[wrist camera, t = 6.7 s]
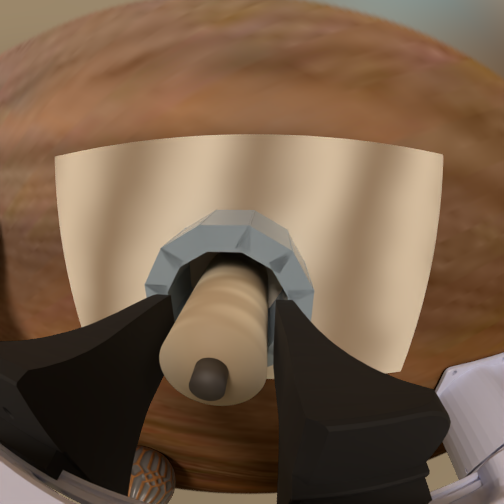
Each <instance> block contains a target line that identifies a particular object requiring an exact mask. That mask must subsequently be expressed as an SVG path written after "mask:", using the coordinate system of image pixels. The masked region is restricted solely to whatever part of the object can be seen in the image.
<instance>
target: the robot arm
mask: <svg viewBox="0 0 504 504" xmlns="http://www.w3.org/2000/svg"><path fill="white" fill-rule="evenodd" d="M174 323H175V322H174V314H173V307H172V299H171V295H162V294H155V295H152V296H150V297H147V298H145V299H143V300H141V301H139V302H137V303H135V304H133V305H131V306H129V307H127V308H125V309H123V310H121V311H119V312H117V313H115V314H112V315H110V316H108V317H106V318H104V319H101V320H99V321H97V322H95V323H92V324H89V325H87V326H84V327H81V328H78V329H75V330H72V331H69V332H65V333H61V334H57V335H53V336H48V337H43V338H37V339H30V340H22V341H0V504H76V503H74V502H72V501H70V500H68V499H67V498H65V497H63V496H61V495H59V494H58V493H57V492H56V491H58V492H60V493H62V494H63V495H65V496H67V497H69V498H71V499H73V500H75V501H77V502H79V503H81V504H151V503H147V502H143V501H140V500H137V499H133V498H130V497H128V491H129V484H130V477H131V471H132V466H133V461H134V457H135V452H136V448H137V444H138V440H139V437H140V433H141V429H142V426H143V423H144V420H145V417H146V413H147V411H148V408H149V406H150V403H151V401H152V399H153V397H154V395H155V393H156V391H157V388H158V386H159V384H160V382H161V380H162V378H163V376H164V374H163V372H162V369H161V366H160V361H159V354H160V350H161V347H162V345H163V343H164V341H165V339H166V337H167V336H168V334H169V332H170V330H171V328H172V327H173V325H174ZM273 370H274V380H275V389H276V397H277V406H278V416H279V460H278V490H277V504H504V353H501V354H498V355H494V356H491V357H487V358H484V359H480V360H477V361H473V362H469V363H465V364H461V365H457V366H452V367H449V368H447V369H446V370H445V371H444V373H443V375H442V377H441V379H440V382H439V384H438V386H437V388H436V390H435V391H434V389H430V388H427V387H423V386H419V385H416V384H412V383H409V382H406V381H403V380H400V379H397V378H395V377H392V376H390V375H387V374H385V373H383V372H380V371H378V370H376V369H374V368H372V367H370V366H368V365H366V364H365V363H363V362H361V361H359V360H357V359H356V358H354V357H353V356H351V355H349V354H348V353H347V352H345V351H344V350H342V349H341V348H340V347H338V346H337V345H335V344H334V343H333V342H332V341H330V340H329V339H328V338H327V337H326V336H325V335H324V334H323V333H322V332H320V331H319V330H318V329H317V328H316V326H315V325H314V324H313V323H312V322H311V321H310V320H309V319H308V318H307V317H306V315H305V314H304V313H303V312H302V311H301V309H300V308H299V307H298V306H297V304H296V303H295V302H294V301H293V300H276V305H275V326H274V344H273ZM442 442H443V444H444V446H445V449H446V451H447V453H448V455H449V458H450V460H451V462H452V465H453V467H454V469H455V472H456V474H457V476H458V479H459V480H458V481H456V482H453V483H451V484H449V485H446V486H444V487H441V488H439V489H437V490H434V491H431V492H430V491H429V488H428V485H427V482H426V479H425V477H427V476H428V475H429V468H428V466H427V463H426V461H427V460H428V459H429V458H430V457H431V455H432V454H433V453H434V452H435V450H436V449H437V448H438V447H439V445H440V444H441V443H442ZM48 486H49V487H48ZM50 487H51V488H52V489H51V488H50ZM53 489H54V490H56V491H54V490H53Z"/></svg>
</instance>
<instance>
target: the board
mask: <svg viewBox="0 0 504 504" xmlns="http://www.w3.org/2000/svg"><path fill="white" fill-rule="evenodd" d="M442 174H443V155H442V154H438V153H433V152H428V151H423V150H418V149H413V148H407V147H402V146H395V145H389V144H382V143H375V142H368V141H359V140H351V139H341V138H329V137H316V136H299V135H267V134H241V135H209V136H191V137H178V138H167V139H157V140H148V141H140V142H132V143H125V144H118V145H112V146H106V147H100V148H94V149H89V150H84V151H79V152H74V153H69V154H65V155H61V156H56V157H55V177H56V194H57V206H58V215H59V224H60V231H61V238H62V245H63V251H64V256H65V262H66V267H67V272H68V277H69V281H70V286H71V290H72V294H73V298H74V302H75V306H76V309H77V313H78V317H79V320H80V323H81V327H84V326H87V325H89V324H92V323H95V322H97V321H99V320H101V319H104V318H106V317H108V316H110V315H112V314H115V313H117V312H119V311H121V310H123V309H125V308H127V307H129V306H131V305H133V304H135V303H137V302H139V301H141V300H143V299H145V298H147V297H146V291H145V286H144V285H145V283H146V280H147V278H148V276H149V273H150V271H151V269H152V267H153V264H154V262H155V260H156V258H157V255H158V253H159V251H160V248H161V247H162V246H164V245H165V244H166V243H167V242H168V241H170V240H171V239H172V238H173V237H175V236H176V235H177V234H178V233H180V232H181V231H182V230H183V229H185V228H187V227H188V226H190V225H192V224H193V223H195V222H197V221H198V220H200V219H202V218H203V217H205V216H207V215H208V214H210V213H212V212H213V211H215V210H255V211H257V212H259V213H260V214H262V215H264V216H265V217H267V218H269V219H271V220H272V221H274V222H276V223H277V224H279V225H281V226H282V227H284V228H286V229H287V230H288V232H289V234H290V236H291V237H292V239H293V241H294V243H295V245H296V247H297V249H298V250H299V252H300V254H301V256H302V258H303V260H304V261H305V264H306V267H307V270H308V273H309V276H310V279H311V282H312V285H313V288H314V291H315V292H314V299H313V308H312V317H311V322H312V323H313V324H314V325H315V326H316V328H317V329H318V330H319V331H320V332H322V333H323V334H324V335H325V336H326V337H327V338H328V339H329V340H330V341H332V342H333V343H334V344H335V345H337V346H338V347H340V348H341V349H342V350H344V351H345V352H347V353H348V354H349V355H351V356H353V357H354V358H356V359H357V360H359V361H361V362H363V363H365V364H366V365H368V366H370V367H372V368H374V369H376V370H378V371H380V372H383V373H393V372H400V371H401V369H402V366H403V364H404V361H405V358H406V355H407V352H408V350H409V347H410V344H411V341H412V338H413V334H414V331H415V328H416V325H417V321H418V318H419V314H420V311H421V307H422V303H423V300H424V296H425V292H426V287H427V283H428V279H429V274H430V269H431V264H432V259H433V254H434V248H435V242H436V235H437V228H438V221H439V212H440V202H441V190H442ZM218 253H220V252H206V253H204V254H202V255H200V256H199V257H197V258H195V259H193V260H191V262H190V274H191V286H192V287H193V289H194V288H195V286H196V285H197V283H198V281H199V280H200V278H201V276H202V274H203V273H204V271H205V269H206V268H207V266H208V264H209V263H210V261H211V260H212V258H213V257H214V256H215V255H217V254H218ZM265 267H266V270H267V273H268V308H270V306H271V305H272V304H273V302H274V301H275V299H276V298H277V296H278V295H279V294H280V292H281V291H282V289H283V287H282V286H281V284H280V282H279V281H278V279H277V277H276V275H275V274H274V272H273V270H272V269H270V268H268V267H267V266H265ZM266 379H274V370H273V365H271V366H269V367H267V378H266Z"/></svg>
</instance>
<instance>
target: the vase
mask: <svg viewBox="0 0 504 504" xmlns="http://www.w3.org/2000/svg"><path fill="white" fill-rule="evenodd" d="M175 484H176V478H175V472H174V469H173V467H172V465H171V463H170V462H169V461H168V459H167V458H166V457H165V456H164V455H163V454H161V453H160V452H158V451H156V450H154V449H151V448H148V447H144V446H137V448H136V452H135V457H134V461H133V466H132V471H131V477H130V484H129V491H128V497H130V498H133V499H137V500H140V501H143V502H147V503H151V504H168V502H169V501H170V499H171V498H172V496H173V493H174V490H175Z"/></svg>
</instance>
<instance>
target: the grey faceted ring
mask: <svg viewBox="0 0 504 504" xmlns="http://www.w3.org/2000/svg"><path fill="white" fill-rule="evenodd" d="M206 252H242V253H244V254H246V255H247V256H249V257H251V258H253V259H254V260H256V261H258V262H260V263H261V264H263V265H265V266H267V267H268V268H270V269H272V270H273V272H274V274H275V275H276V277H277V279H278V281H279V282H280V284H281V286H282V287H283V289H282V291H281V292H280V294H279V295H278V296H277V298H276V299H275V301H274V302H273V304H272V305H271V306H270V308H268V350H267V367H269V366H271V365H273V344H274V326H275V305H276V300H293V301H294V302H295V303H296V304H297V306H298V307H299V308H300V309H301V311H302V312H303V313H304V314H305V315H306V317H307V318H308V319H309V320H310V321H311V317H312V308H313V299H314V292H315V291H314V288H313V285H312V282H311V279H310V276H309V273H308V270H307V267H306V264H305V261H304V260H303V258H302V256H301V254H300V252H299V250H298V249H297V247H296V245H295V243H294V241H293V239H292V237H291V236H290V234H289V232H288V230H287V229H286V228H284V227H282V226H281V225H279V224H277V223H276V222H274V221H272V220H271V219H269V218H267V217H265V216H264V215H262V214H260V213H259V212H257V211H255V210H215V211H213V212H212V213H210V214H208V215H207V216H205V217H203V218H202V219H200V220H198V221H197V222H195V223H193V224H192V225H190V226H188V227H187V228H185V229H183V230H182V231H181V232H180V233H178V234H177V235H176V236H175V237H173V238H172V239H171V240H170V241H168V242H167V243H166V244H165V245H164V246H162V247H161V248H160V251H159V253H158V255H157V258H156V260H155V262H154V264H153V267H152V269H151V271H150V273H149V276H148V278H147V280H146V283H145V285H144V286H145V291H146V297H150V296H152V295H155V294H162V295H171V299H172V307H173V314H174V322H175V321H176V320H177V318H178V316H179V314H180V313H181V311H182V309H183V307H184V306H185V304H186V302H187V300H188V299H189V297H190V295H191V293H192V292H193V290H194V289H193V287H192V286H191V274H190V262H191V260H193V259H195V258H197V257H199V256H200V255H202V254H204V253H206Z"/></svg>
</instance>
